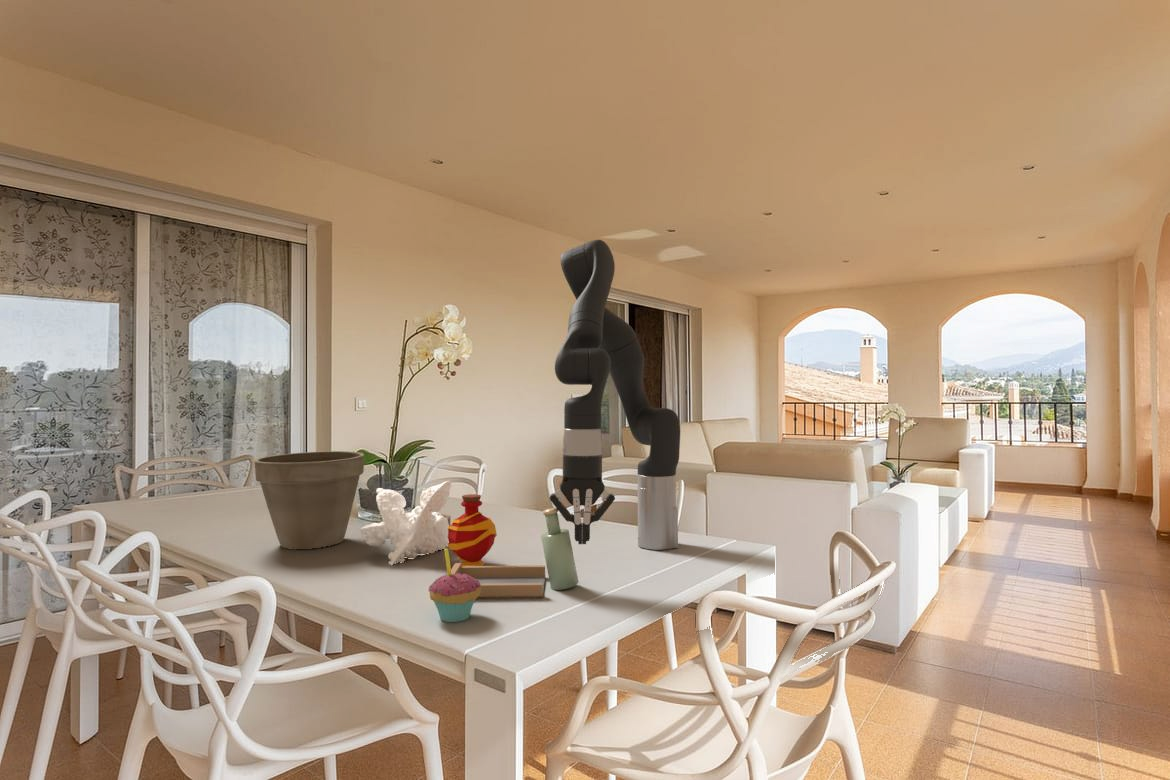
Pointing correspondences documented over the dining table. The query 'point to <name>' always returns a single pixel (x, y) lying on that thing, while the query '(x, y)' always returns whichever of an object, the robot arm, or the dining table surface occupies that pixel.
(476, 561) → the potion bottle
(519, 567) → the wooden shallow tray
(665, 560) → the dining table surface
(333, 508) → the plant pot
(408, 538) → the white lumpy branched piece
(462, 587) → the cupcake
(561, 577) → the bottle
